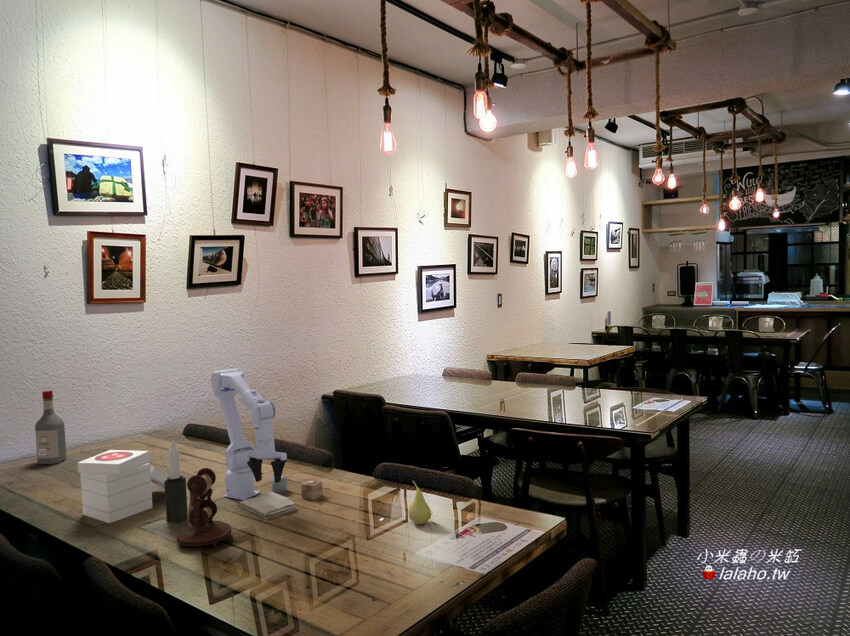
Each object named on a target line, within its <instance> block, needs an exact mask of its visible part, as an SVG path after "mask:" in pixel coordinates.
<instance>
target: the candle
mask: <svg viewBox="0 0 850 636" xmlns="http://www.w3.org/2000/svg"><path fill="white" fill-rule="evenodd" d="M168 468H169V469H168V471H169V475H170V477H168V478H167V480H165V481H164V485H165V489H164V497H165V499H164V501H165V502H164V503H165V517H166V523H173V524H180V523H182V522H184V521H185V520H188V519H189V518H188V514H189V509H188V495H187V493H188V492H187V479H186V477H184V476H183V475H182V474H180V473H181V470H180V452H179V450H178V448H177V447H176V444H175V441H174V440H172V441H171V446H170V449H169V450H168Z"/></svg>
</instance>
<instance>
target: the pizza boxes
mask: <svg viewBox="0 0 850 636" xmlns="http://www.w3.org/2000/svg"><path fill="white" fill-rule="evenodd" d="M150 460H151V459H150V450H130V449H129V450H126V449H124V450H123V449H108V450H106V451H104V452H100V453H98V454H96V455H94V456H92V457H88V458H86V459H83V460H80V461H79V462H77V473H78V474H79V473H80V474H79V475H80V489H81V504H82V505H81V506H82V515H83V516H85V517H89V518H92V519H95V520H98V521H101V522H105V523H107V524H112V523H114V522H116V521H119V520H123V519H126V518H128V517H130V516H134V515H136V514H139V513H142V512H145V511H147V510H150V509H152V508H154V507H153V491H152V489H153V488H152V486H153V487H156V488H160V489H163V490H165V485H164V481H165V480H167V478H168V477H170V474H168V473H167V472H165V471H164V470H161V469H160V468H158V467H157V466H154V465H151V463H150V462H149V461H150Z"/></svg>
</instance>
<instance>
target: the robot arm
mask: <svg viewBox="0 0 850 636" xmlns="http://www.w3.org/2000/svg"><path fill="white" fill-rule="evenodd" d="M210 376H211V377H210V385H211V387H212V392H213V395H214V397H215V398H218V401H219V404H220V407H221V412H222V416H223V418H224V419H223V420H224V423H225V427H226V430H227V431H226V432H227V434H228V439H229V442H230V444H229V445H228V447H227V448H226V449H225V451H224V457H225V459H224V460H225V466H226V468H227V471H226V473H225V475H224V484H225V485H224V486H225V488H224V489H225V494H223V497H225V498H230V499H231V498H232V499H234V500H235V499H236V500H241V501H244V500H247V499H250V498H253V497H254V496H256V495H259V494H260V493H261V491H260V490H255V482H256V483H259V482H261V481H262V479H263V475H262V474H263V472H262V471H263V470H262V467H263V460H271V461H270V464H271V468H272V472H273V477H274V479H275V483H278V482H280V481H281V476H282V475H283V470H284V467H285V465H286V462H287V460H288V457H287V455H288V454H287V453H286V452H279V451H276V447H275V446H276V445H275V435H274V423H273V419H274V418H275V417H276V407H275V405H274V403H273V402H272V401H271V400H265V399H264V398H263V397H262V395H260V393H259V392H258V390H256V389H253V388H252V389H251V387H250V386H249V385H248V383H247V382H246V381H245V374H244V372H243V369H241V368H240V367H237V368H229V369H223V370H222V369H221V370H214V371H212V374H211V375H210ZM237 394H239V396H241V402H242V404H243V405H244V406H245V407H246V408H247V409H248V411H250V412H249V414H250V415H249V416H250V419H251V422H252V426H253V427H254V435H255V443H256V444H255V445H254V443H253V442H251V441H249V440H247V439H246V438H245V437H246V436H245V433H244V430H243V429H244V428H243V425H242V422H241V418H240V415H239V414H240V413H239V410H238V406H237V403H236V400H235V396H236V395H237Z"/></svg>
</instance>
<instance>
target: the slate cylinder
mask: <svg viewBox="0 0 850 636" xmlns="http://www.w3.org/2000/svg"><path fill="white" fill-rule="evenodd" d="M287 480H288V478H287V476H286V475H283V474H282V476H281V481H280V482H278V483H275V479H274V476H272V477H271V489H272V491H271V492H274V493H276V494H279V495H281V494H285V493H287V492H288V484H287V483H288V481H287Z"/></svg>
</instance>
